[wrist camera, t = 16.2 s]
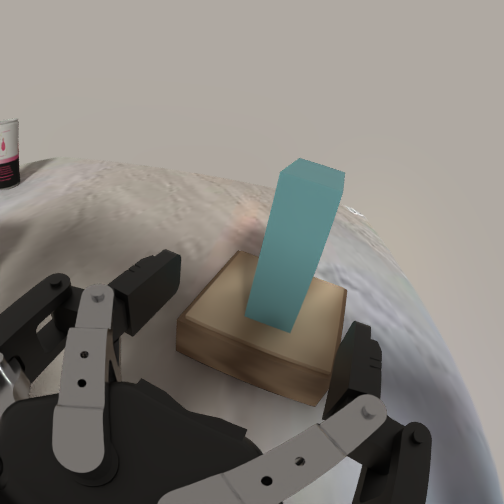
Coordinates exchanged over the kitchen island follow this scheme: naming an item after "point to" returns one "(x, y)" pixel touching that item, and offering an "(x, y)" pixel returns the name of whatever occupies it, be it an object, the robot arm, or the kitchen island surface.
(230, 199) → the kitchen island surface
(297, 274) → the teal rectangular block
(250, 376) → the block
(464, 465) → the kitchen island surface
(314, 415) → the kitchen island surface
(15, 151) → the beverage can
